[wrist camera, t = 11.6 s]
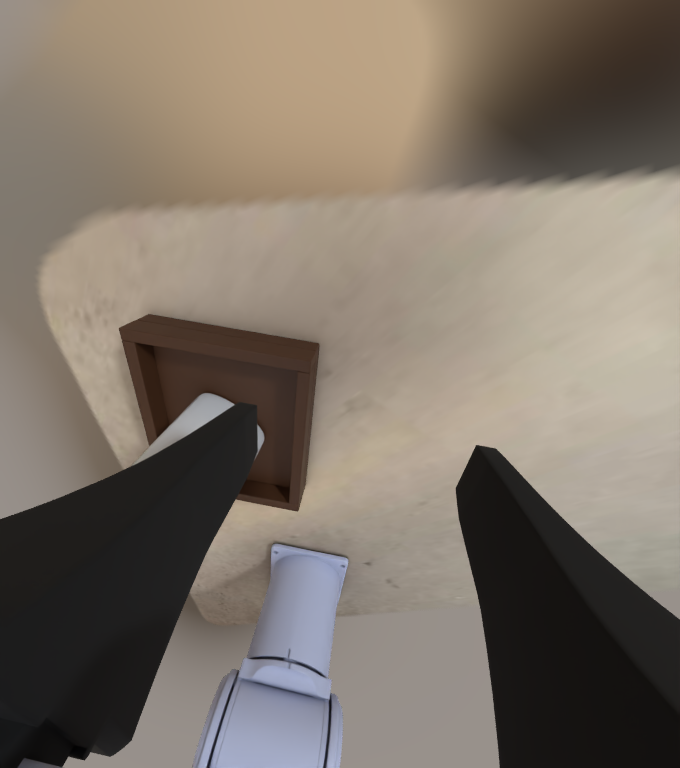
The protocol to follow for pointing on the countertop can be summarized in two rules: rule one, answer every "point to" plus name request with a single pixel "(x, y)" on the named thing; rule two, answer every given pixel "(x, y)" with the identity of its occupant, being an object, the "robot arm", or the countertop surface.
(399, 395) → the countertop surface
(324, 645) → the robot arm
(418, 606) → the countertop surface
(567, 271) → the countertop surface
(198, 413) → the eye dropper bottle
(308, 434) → the tray
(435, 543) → the countertop surface
